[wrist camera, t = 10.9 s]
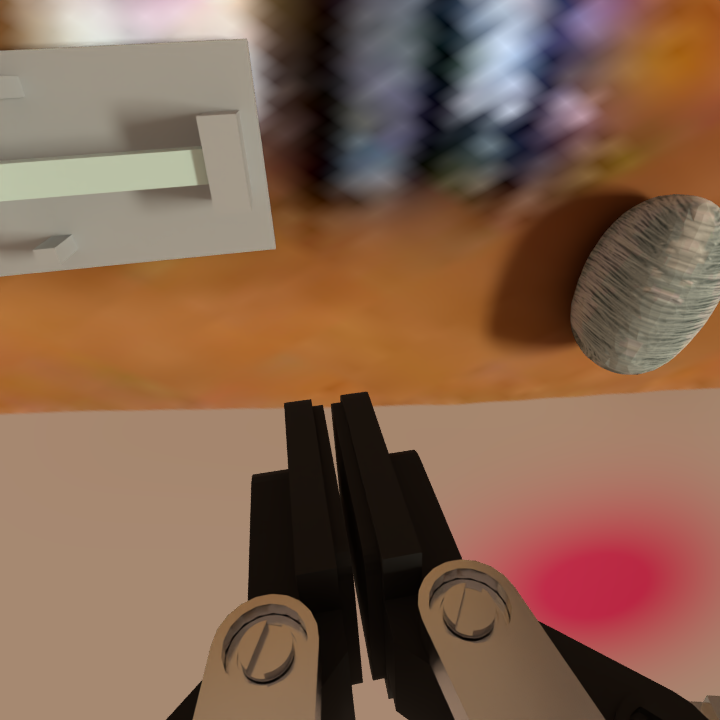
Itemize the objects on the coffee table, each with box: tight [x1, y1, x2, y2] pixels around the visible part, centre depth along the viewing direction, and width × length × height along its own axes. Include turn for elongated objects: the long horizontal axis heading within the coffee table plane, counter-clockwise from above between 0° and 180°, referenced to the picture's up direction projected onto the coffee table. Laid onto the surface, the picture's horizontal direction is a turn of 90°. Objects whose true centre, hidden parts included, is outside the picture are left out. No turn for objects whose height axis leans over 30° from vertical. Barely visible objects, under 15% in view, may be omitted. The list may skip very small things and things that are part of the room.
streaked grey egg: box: [571, 194, 720, 374], centre depth 37 cm, size 14×10×10 cm
